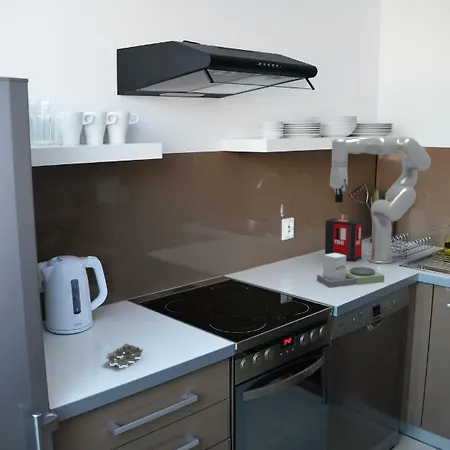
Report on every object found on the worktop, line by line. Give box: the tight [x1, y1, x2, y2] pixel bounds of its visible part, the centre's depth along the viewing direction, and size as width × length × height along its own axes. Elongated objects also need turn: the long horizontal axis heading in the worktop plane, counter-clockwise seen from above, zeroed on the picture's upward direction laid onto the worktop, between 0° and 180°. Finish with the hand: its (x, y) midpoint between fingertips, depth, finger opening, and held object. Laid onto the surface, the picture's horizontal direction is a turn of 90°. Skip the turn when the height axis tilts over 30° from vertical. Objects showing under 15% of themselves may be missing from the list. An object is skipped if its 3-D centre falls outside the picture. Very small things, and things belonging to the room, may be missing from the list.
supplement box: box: [322, 253, 347, 281], centre depth 249 cm, size 7×7×13 cm
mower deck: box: [316, 266, 385, 288], centre depth 252 cm, size 27×14×4 cm, turn 108°
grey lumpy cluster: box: [105, 342, 144, 366], centre depth 170 cm, size 11×8×4 cm
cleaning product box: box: [324, 217, 363, 263], centre depth 291 cm, size 16×9×20 cm, turn 53°
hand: (338, 202), depth 273 cm, fingers closed
